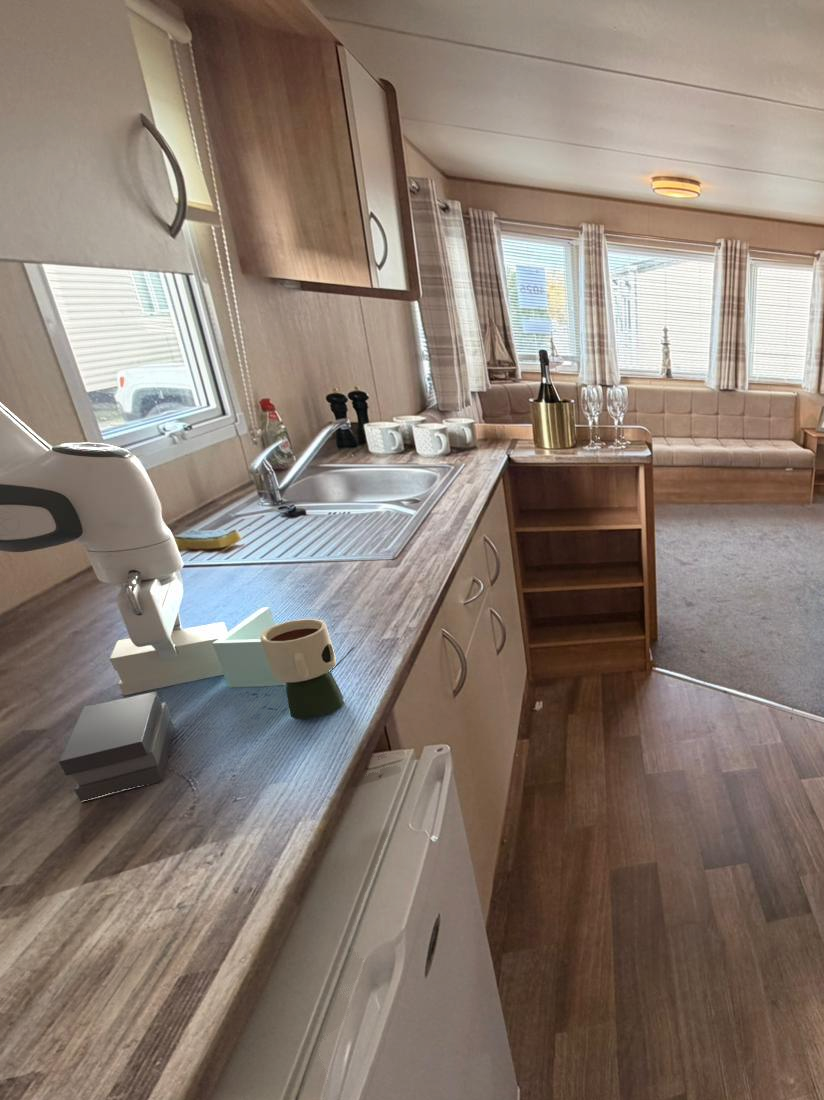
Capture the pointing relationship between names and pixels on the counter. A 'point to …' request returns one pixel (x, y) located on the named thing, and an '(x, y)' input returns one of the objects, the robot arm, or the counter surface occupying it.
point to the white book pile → (169, 673)
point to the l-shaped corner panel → (246, 652)
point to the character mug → (304, 666)
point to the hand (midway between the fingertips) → (173, 646)
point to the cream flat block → (184, 639)
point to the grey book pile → (119, 745)
